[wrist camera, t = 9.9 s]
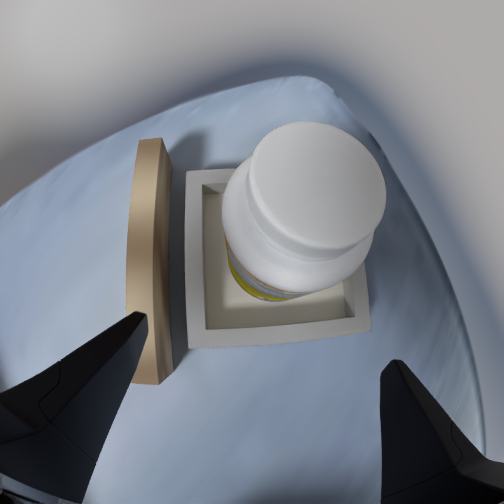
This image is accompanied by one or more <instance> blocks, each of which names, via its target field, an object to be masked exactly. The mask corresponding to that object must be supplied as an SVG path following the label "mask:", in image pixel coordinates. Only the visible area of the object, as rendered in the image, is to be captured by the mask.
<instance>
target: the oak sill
mask: <svg viewBox="0 0 504 504" xmlns="http://www.w3.org/2000/svg"><path fill="white" fill-rule="evenodd" d="M171 176H172V164H171V161H170V159H169V156H168V153H167V150H166V148H165V145H164V142H163V140H162V138H154V139H146V140H139V144H138V150H137V156H136V162H135V169H134V176H133V184H132V192H131V201H130V211H129V222H128V236H127V257H126V316H128V315H129V314H131V313H133V312H134V311H139V312H143V313H145V314H147V318H148V329H149V331H148V336H147V339H146V342H145V345H144V348H143V351H142V354H141V357H140V360H139V363H138V366H137V369H136V371H135V374H134V376H133V378H132V383H136V384H151V385H159V384H160V383H162V382H163V381H164V380H165V379H166V378H167V377H168V376H169V375H171V374H172V373H173V372H174V371H173V360H172V347H171V332H170V312H169V273H168V250H169V211H170V191H171Z"/></svg>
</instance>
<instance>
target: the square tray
mask: <svg viewBox="0 0 504 504" xmlns="http://www.w3.org/2000/svg"><path fill="white" fill-rule="evenodd" d="M236 169H237V168H232V169H211V170H195V171H186V195H185V290H186V315H187V333H188V348H225V347H244V346H259V345H271V344H282V343H292V342H301V341H310V340H318V339H325V338H332V337H339V336H345V335H352V334H358V333H363V332H369V331H371V321H370V308H369V297H368V287H367V278H366V270H365V262H364V261H363V262H362V264H361V265H360V266H359V267H358V269H357V270H356V271H355V272H354V273H353V274H352V275H350V276H349V277H348V278H346V279H345V280H343V281H342V282H340V283H338V284H337V285H335V286H332V287H330V288H327V289H325V290H321V291H318V292H315V293H312V294H308V295H305V296H302V297H298V298H295V299H291V300H287V301H282V302H269V301H264V300H260V299H258V298H255V297H253V296H251V295H250V294H248V293H247V292H246V291H244V290H243V289H242V288H241V287H240V286H239V284H238V283H237V282H236V280H235V279H234V277H233V275H232V273H231V271H230V268H229V264H228V257H227V250H226V244H225V237H224V230H223V224H222V203H223V197H224V192H225V189H226V187H227V184H228V182H229V180H230V178H231V176H232V174H233V173H234V172H235V170H236Z"/></svg>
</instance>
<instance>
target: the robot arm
mask: <svg viewBox="0 0 504 504" xmlns="http://www.w3.org/2000/svg"><path fill="white" fill-rule="evenodd" d="M148 331H149V329H148V318H147V314H145V313H143V312H139V311H134V312H133V313H131V314H129V315H128V316H126V317H125V318H123V319H122V320H120V321H119V322H117V323H116V324H114V325H113V326H111V327H109V328H108V329H106V330H105V331H103V332H102V333H100V334H99V335H97V336H96V337H94V338H93V339H91V340H90V341H88V342H87V343H85V344H84V345H82V346H81V347H79V348H78V349H76V350H75V351H73V352H72V353H70V354H69V355H67V356H66V357H64V358H63V359H61V361H58V362H56V363H55V364H53V365H52V366H50V367H49V368H47V369H46V370H44V371H42V372H41V373H39V374H37V375H35V376H34V377H32V378H30V379H28V380H26V381H24V382H22V383H20V384H18V385H16V386H14V387H12V388H10V389H8V390H7V391H4V392H2V393H0V504H58V503H59V500H60V498H61V499H65V500H68V501H71V502H75V503H78V504H82V501H83V499H84V496H85V493H86V490H87V487H88V484H89V482H90V479H91V476H92V474H93V471H94V468H95V466H96V462H97V460H98V458H99V455H100V452H101V450H102V447H103V445H104V443H105V440H106V438H107V435H108V433H109V430H110V428H111V426H112V423H113V421H114V419H115V416H116V414H117V412H118V409H119V407H120V405H121V403H122V400H123V398H124V396H125V394H126V391H127V389H128V387H129V385H130V383H131V381H132V378H133V376H134V374H135V371H136V369H137V366H138V363H139V360H140V357H141V354H142V351H143V348H144V345H145V342H146V339H147V336H148ZM380 421H381V443H382V486H381V504H504V463H502V462H495V461H491V460H489V459H487V458H486V457H484V456H483V455H482V454H481V453H480V452H479V450H478V449H477V448H476V447H475V446H474V445H473V444H472V443H471V442H470V441H469V440H468V438H467V437H466V436H465V435H464V434H463V433H462V432H461V430H460V429H459V428H458V427H457V426H456V424H455V423H454V422H453V421H452V420H451V418H450V417H449V416H448V414H447V413H446V412H445V411H444V409H443V408H442V407H441V406H440V404H439V403H438V402H437V401H436V400H435V398H434V397H433V396H432V395H431V394H430V392H429V391H428V390H427V389H426V388H425V386H424V385H423V384H422V383H421V382H420V380H419V379H418V378H417V377H416V376H415V375H414V373H413V372H412V371H411V370H410V369H409V368H408V366H407V365H406V364H405V363H404V362H403V361H402V360H396V359H394V360H391V361H390V363H389V364H388V365H387V366H386V367H385V369H384V370H383V371H382V373H381V376H380Z"/></svg>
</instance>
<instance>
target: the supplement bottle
mask: <svg viewBox="0 0 504 504" xmlns="http://www.w3.org/2000/svg"><path fill="white" fill-rule="evenodd" d="M385 206H386V186H385V181H384V178H383V175H382V172H381V170H380V167H379V165H378V164H377V162H376V160H375V159H374V157H373V156H372V154H371V153H370V152H369V151H368V150H367V149H366V147H365V146H364V145H363V144H361V143H360V142H359V141H358V140H357V139H356V138H354V137H353V136H351V135H350V134H348V133H347V132H345V131H343V130H341V129H339V128H337V127H334V126H332V125H328V124H325V123H320V122H312V121H299V122H293V123H289V124H285V125H283V126H280V127H278V128H276V129H274V130H273V131H271V132H270V133H268V134H267V135H266V136H265V137H264V138H263V139H262V140H261V141H260V143H259V144H258V145H257V147H256V149H255V150H254V153H253V154H252V155H251V156H250V157H248V158H247V159H246V160H245V161H243V162H242V163H241V164H240V165H239V167H238V168H237V169H236V170H235V172H234V173H233V174H232V176H231V178H230V180H229V182H228V184H227V187H226V189H225V192H224V197H223V203H222V224H223V230H224V237H225V244H226V250H227V257H228V264H229V268H230V271H231V273H232V275H233V277H234V279H235V280H236V282H237V283H238V284H239V286H240V287H241V288H242V289H243V290H244V291H246V292H247V293H248V294H250V295H251V296H253V297H255V298H258V299H260V300H264V301H269V302H282V301H287V300H291V299H295V298H298V297H302V296H305V295H308V294H312V293H315V292H318V291H321V290H325V289H327V288H330V287H332V286H335V285H337V284H338V283H340V282H342V281H343V280H345V279H346V278H348V277H349V276H350V275H352V274H353V273H354V272H355V271H356V270H357V269H358V267H359V266H360V265H361V264H362V262H363V261H364V259H365V258H366V256H367V254H368V252H369V250H370V247H371V244H372V241H373V236H374V230H375V229H376V228H377V226H378V224H379V223H380V221H381V219H382V216H383V214H384V211H385Z"/></svg>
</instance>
